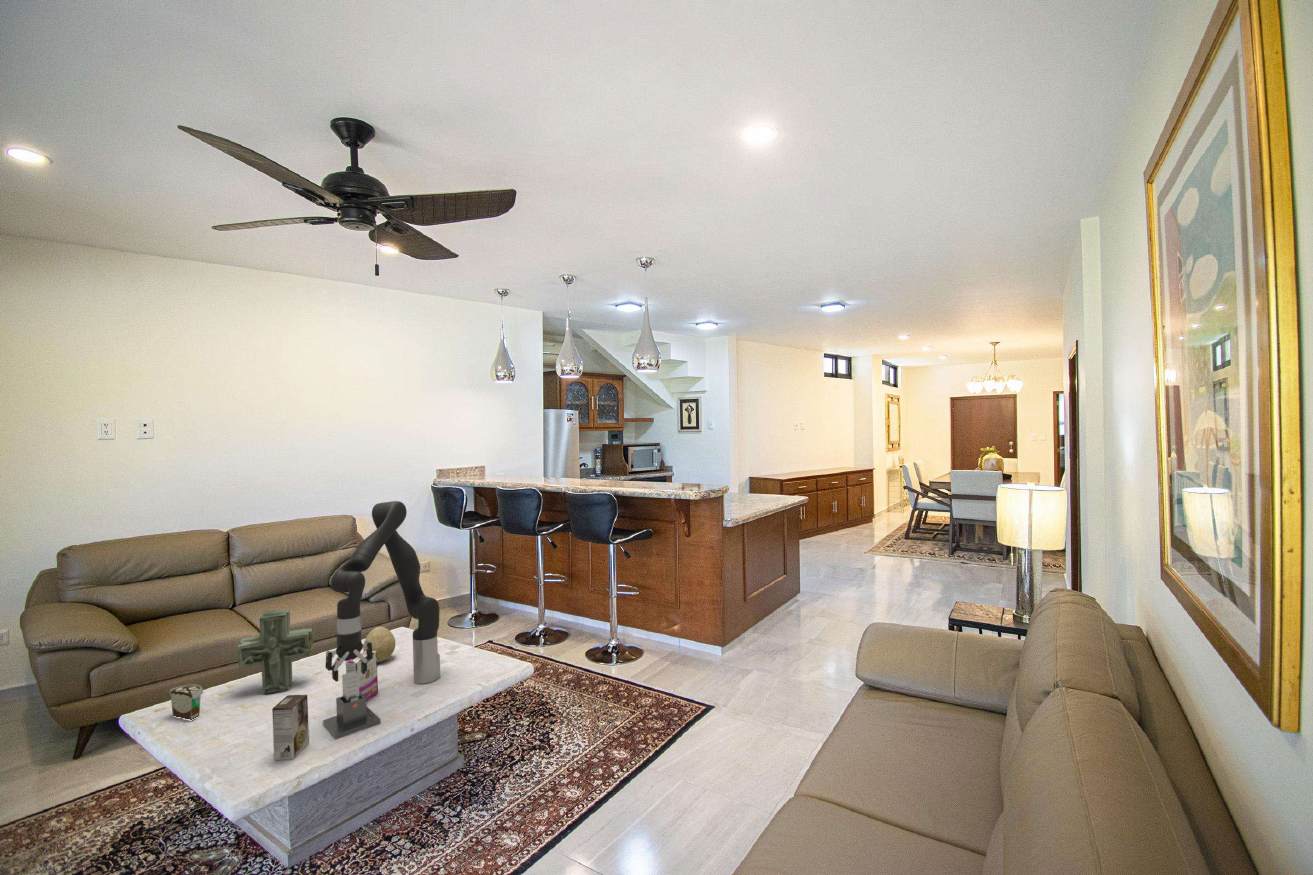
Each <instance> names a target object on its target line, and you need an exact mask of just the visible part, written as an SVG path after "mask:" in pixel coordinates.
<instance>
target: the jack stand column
mask: <svg viewBox="0 0 1313 875" xmlns="http://www.w3.org/2000/svg"><path fill="white" fill-rule="evenodd" d="M341 676H342V677H341V678H342V681H341V682H342V696H343V702H344V703H347V702H350V698H354V697H357V696H358V699H359V674H358V673H356V672H355V671H354V672H350V673H347V674H346V673H343V674H342V675H341Z"/></svg>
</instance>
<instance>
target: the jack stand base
mask: <svg viewBox="0 0 1313 875" xmlns="http://www.w3.org/2000/svg"><path fill="white" fill-rule="evenodd" d="M335 701H336V703H335V704H336V705H335V706H336V715H334V716H331V717H328V718H326V719H322V724H323V726H324V727H325V729H327V731H328V732H329V733H330V735H332V737H333V738H334V739H335V740H338V739H341V738H343V737H346V736H349V735H352V734H355V733H357V732H360V731H363V730H366V729H368V728H371V727H375V726H377V725H380V724H381V721H382V720H381V718H380V717H379V716H378V715H377V714H376V713H374V711H373V710H372V709H370V708H369V707H368V706H367V701H366V697H365V696H364V695H363V694H361V693H360V692H359V699H358V696H357V697H354V698H350V702H347V703H344V702H343V695H342V696H338V697H336V700H335Z"/></svg>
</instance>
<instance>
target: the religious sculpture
mask: <svg viewBox="0 0 1313 875" xmlns="http://www.w3.org/2000/svg"><path fill="white" fill-rule="evenodd" d="M313 637H314V634H313V628H302V629H294V630H291V609H290V608H289V609H277V610H276V609H275V610H269V611H264V612H263V613H262V615H261V616H260V617H259V635H254V636H249V637H244V638H241V639H240V641H239V644H238V645H237V658H238V668H239V669H247V668H253V667H256V666H260V667H261V681H262V695H270V694H277V693H282V692H287V691H289V689H290V688H291V686H292V685H293V679H294V678H293V659H297V658H302V657H308V656H310V653H312V652H313V650H314V642H313V640H314V639H313Z"/></svg>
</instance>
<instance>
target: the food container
mask: <svg viewBox="0 0 1313 875" xmlns="http://www.w3.org/2000/svg"><path fill="white" fill-rule="evenodd" d="M202 694H204V690H203V687H202V686H201V685H200V684H196V683H193V684H184V685H180V686H177V687H175V686H174V687H173V688H170V689H169V694H168V695H170V702H171V709H172V710H171V711H172V712H171V713H172V717H173V716H176V717H181V718H185V719H190V720H192V719H194V718H196V717H198V718H199V717H200V713H201V712H200V710H201V695H202ZM196 719H197V718H196ZM194 720H195V719H194ZM192 721H193V720H192Z"/></svg>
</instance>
